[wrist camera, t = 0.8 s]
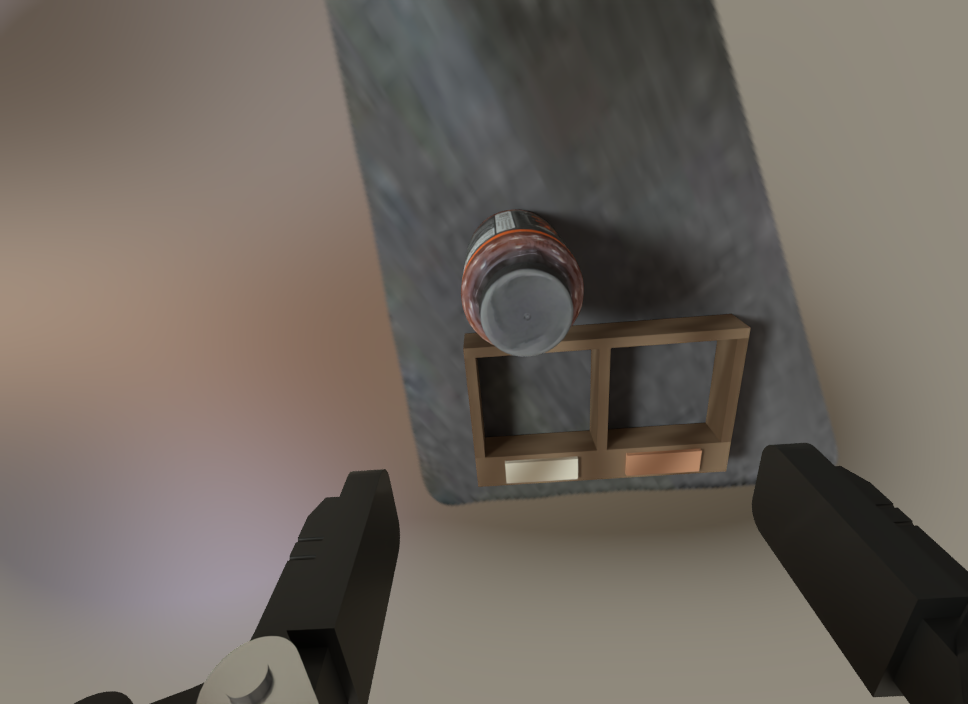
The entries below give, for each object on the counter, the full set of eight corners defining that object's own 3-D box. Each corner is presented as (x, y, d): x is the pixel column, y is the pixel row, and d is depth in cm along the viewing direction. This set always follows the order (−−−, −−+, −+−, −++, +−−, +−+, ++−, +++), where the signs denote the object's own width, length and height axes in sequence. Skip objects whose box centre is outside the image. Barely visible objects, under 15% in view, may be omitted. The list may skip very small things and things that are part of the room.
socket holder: (731, 313, 32) (753, 329, 29) (710, 450, 36) (727, 473, 34) (464, 333, 32) (463, 350, 30) (478, 465, 37) (478, 489, 34)
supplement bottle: (578, 258, 30) (627, 322, 20) (508, 316, 32) (520, 404, 21) (518, 185, 28) (538, 214, 18) (447, 251, 30) (427, 313, 20)
